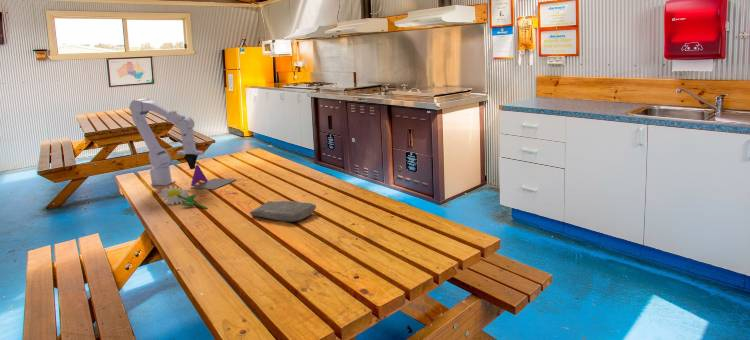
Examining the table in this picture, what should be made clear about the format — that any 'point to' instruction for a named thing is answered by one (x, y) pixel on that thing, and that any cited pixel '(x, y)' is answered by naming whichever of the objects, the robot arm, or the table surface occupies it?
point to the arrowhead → (198, 176)
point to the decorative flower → (178, 196)
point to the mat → (213, 184)
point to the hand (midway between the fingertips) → (192, 169)
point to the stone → (284, 210)
